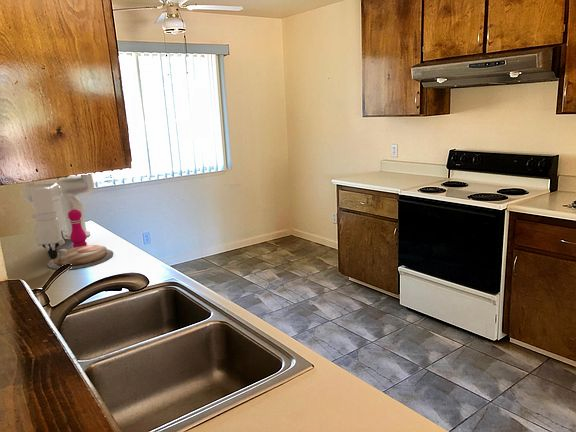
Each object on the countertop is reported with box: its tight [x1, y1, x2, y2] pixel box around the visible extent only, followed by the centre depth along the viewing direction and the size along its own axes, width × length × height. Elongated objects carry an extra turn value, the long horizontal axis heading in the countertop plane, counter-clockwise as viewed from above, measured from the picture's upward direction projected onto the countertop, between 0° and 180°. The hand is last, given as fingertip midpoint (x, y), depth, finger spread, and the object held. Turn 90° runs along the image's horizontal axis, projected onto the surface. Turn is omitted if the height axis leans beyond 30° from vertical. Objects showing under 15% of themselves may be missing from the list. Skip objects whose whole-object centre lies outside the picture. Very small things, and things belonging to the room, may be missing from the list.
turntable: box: [53, 244, 108, 266], centre depth 205 cm, size 22×22×6 cm
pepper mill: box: [68, 207, 88, 248], centre depth 223 cm, size 7×7×20 cm
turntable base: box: [47, 248, 114, 270], centre depth 206 cm, size 27×27×1 cm
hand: (53, 258), depth 195 cm, fingers closed
